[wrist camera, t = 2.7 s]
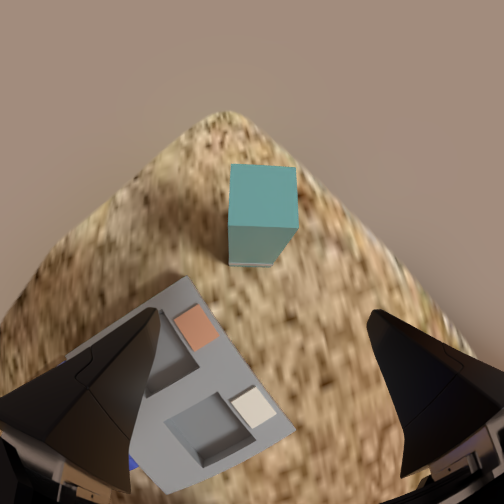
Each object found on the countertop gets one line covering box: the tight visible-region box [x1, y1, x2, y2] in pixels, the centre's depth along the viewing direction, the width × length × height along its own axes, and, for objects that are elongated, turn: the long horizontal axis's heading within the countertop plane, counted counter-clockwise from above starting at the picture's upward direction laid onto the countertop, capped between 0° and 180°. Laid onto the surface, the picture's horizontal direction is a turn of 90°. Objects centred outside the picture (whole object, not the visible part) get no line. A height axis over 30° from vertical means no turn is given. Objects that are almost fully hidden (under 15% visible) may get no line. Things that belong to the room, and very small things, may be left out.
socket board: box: [65, 275, 296, 495], centre depth 20 cm, size 16×14×2 cm
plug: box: [228, 164, 299, 267], centre depth 20 cm, size 4×4×11 cm
